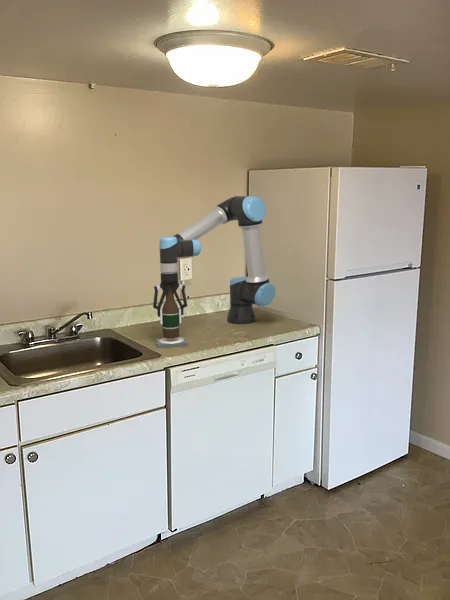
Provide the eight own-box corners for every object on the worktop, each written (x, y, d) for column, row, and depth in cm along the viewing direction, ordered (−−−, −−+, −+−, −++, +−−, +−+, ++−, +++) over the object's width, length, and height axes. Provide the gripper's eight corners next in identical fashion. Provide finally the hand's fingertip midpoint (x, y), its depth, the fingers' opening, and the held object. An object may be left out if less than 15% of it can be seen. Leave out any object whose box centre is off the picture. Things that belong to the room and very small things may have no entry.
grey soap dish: (184, 339, 255) (184, 336, 255) (187, 346, 245) (187, 342, 244) (156, 341, 253) (155, 337, 253) (157, 348, 242) (157, 344, 242)
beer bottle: (165, 339, 243) (163, 285, 239) (160, 335, 250) (158, 283, 246) (182, 337, 246) (180, 284, 242) (176, 333, 253) (175, 281, 249)
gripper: (191, 270, 248) (192, 319, 253) (144, 272, 244) (147, 322, 249) (193, 272, 241) (194, 323, 245) (146, 274, 237) (148, 326, 241)
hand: (170, 323), depth 247 cm, fingers closed on beer bottle, 8 cm apart
